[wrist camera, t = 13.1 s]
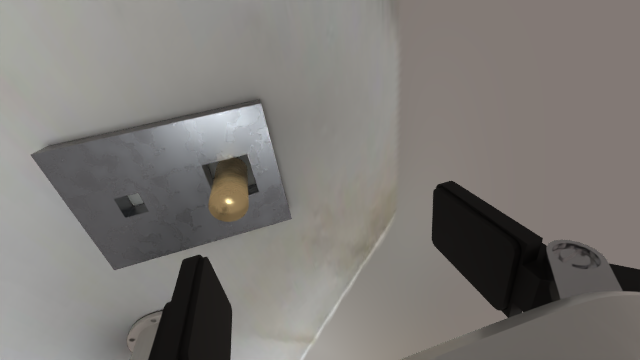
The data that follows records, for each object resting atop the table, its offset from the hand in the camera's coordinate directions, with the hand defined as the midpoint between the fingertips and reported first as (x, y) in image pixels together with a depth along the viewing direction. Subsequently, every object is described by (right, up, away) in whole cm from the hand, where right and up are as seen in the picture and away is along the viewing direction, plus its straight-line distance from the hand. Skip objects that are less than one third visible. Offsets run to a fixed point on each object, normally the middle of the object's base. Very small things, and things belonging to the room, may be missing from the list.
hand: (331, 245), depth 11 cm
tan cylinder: (-13, +4, +29) cm, 32 cm away
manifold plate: (-19, +2, +28) cm, 34 cm away
